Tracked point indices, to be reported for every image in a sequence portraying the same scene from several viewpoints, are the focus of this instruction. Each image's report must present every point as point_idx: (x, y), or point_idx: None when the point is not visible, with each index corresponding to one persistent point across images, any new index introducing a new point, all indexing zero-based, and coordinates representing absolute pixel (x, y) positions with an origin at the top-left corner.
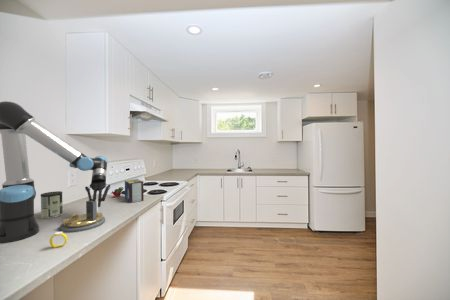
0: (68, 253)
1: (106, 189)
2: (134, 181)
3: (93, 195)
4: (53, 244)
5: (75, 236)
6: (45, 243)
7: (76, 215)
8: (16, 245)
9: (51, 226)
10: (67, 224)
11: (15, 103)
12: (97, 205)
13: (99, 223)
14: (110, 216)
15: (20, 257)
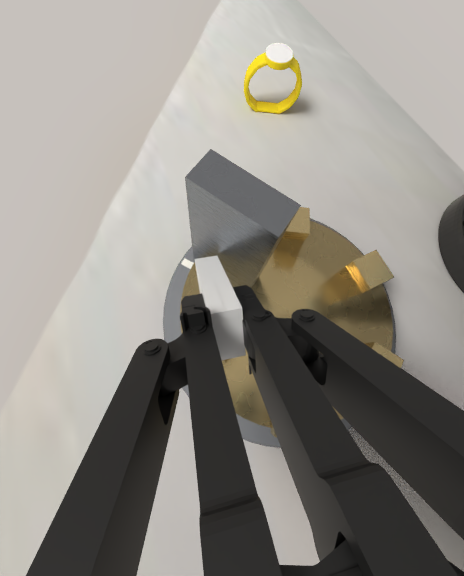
0: (208, 54)
1: (60, 560)
2: None
3: (300, 364)
4: (286, 104)
5: None
6: (329, 144)
7: None
8: (422, 159)
9: (443, 338)
10: (332, 230)
11: None
12: (201, 280)
13: (178, 266)
14: None
15: (338, 76)
